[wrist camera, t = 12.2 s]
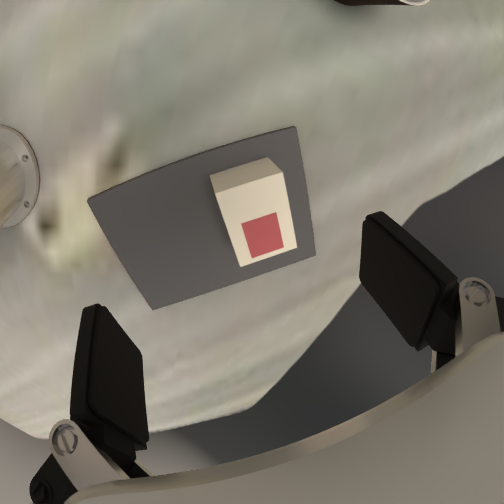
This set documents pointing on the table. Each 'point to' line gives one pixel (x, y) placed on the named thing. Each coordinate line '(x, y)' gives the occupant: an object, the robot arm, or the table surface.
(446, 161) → the table surface
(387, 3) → the coffee mug
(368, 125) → the table surface
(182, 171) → the mat
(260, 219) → the card box
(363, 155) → the table surface
